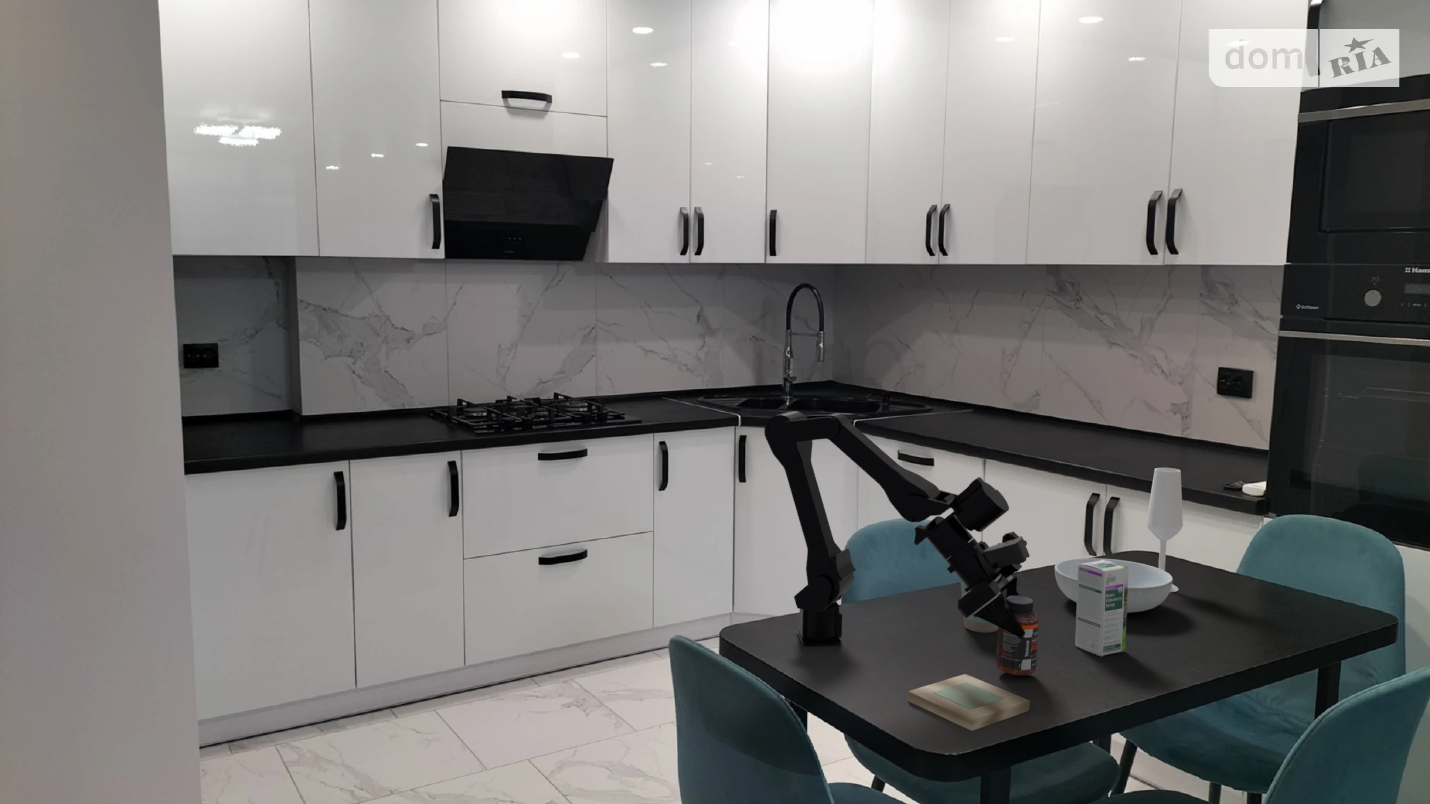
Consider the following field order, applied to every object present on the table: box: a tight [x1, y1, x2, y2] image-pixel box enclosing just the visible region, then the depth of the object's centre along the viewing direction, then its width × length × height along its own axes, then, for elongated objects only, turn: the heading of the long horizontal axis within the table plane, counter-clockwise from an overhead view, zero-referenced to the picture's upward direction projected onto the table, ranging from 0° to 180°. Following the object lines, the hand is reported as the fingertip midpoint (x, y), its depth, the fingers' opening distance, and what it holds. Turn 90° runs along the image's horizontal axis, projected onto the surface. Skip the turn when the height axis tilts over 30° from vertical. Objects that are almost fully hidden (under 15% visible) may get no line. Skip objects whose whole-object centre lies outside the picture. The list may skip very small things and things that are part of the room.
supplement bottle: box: [995, 595, 1039, 676], centre depth 159 cm, size 6×6×11 cm
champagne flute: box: [1145, 467, 1184, 593], centre depth 206 cm, size 7×7×24 cm
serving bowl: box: [1054, 557, 1174, 614], centre depth 194 cm, size 21×21×7 cm
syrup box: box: [1074, 560, 1129, 657], centre depth 171 cm, size 6×6×14 cm
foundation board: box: [907, 673, 1031, 732], centre depth 148 cm, size 12×12×2 cm
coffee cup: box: [960, 579, 998, 633], centre depth 181 cm, size 8×8×12 cm
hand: (1027, 629), depth 158 cm, fingers open, 6 cm apart
